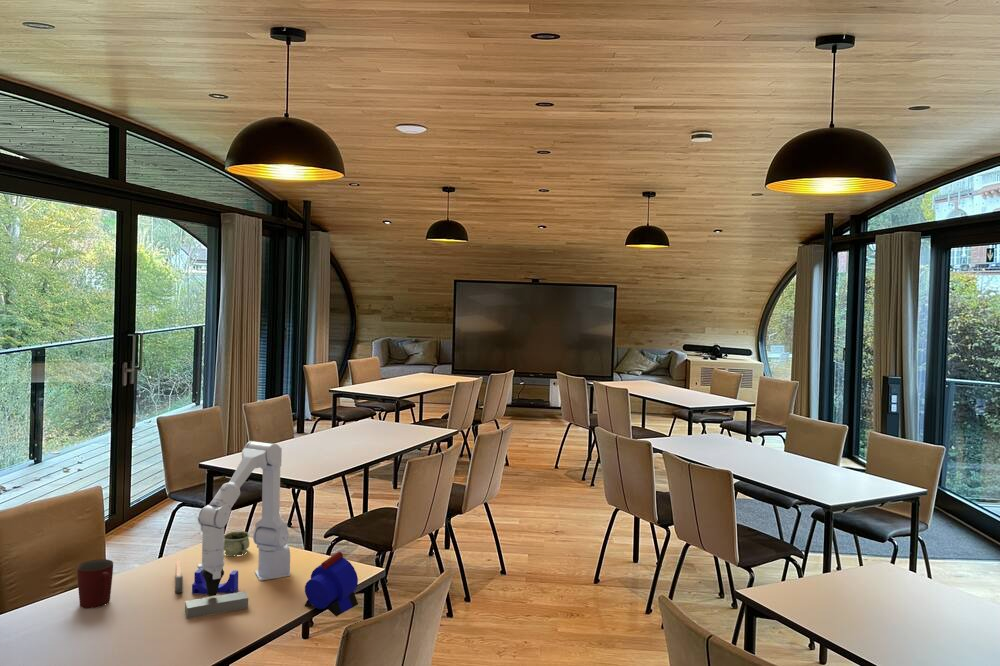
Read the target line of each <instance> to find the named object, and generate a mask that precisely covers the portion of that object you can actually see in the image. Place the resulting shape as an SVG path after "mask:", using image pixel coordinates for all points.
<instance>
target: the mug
mask: <svg viewBox="0 0 1000 666" xmlns="http://www.w3.org/2000/svg"><path fill="white" fill-rule="evenodd" d="M76 568H77V570H76V571H77V572H76V573H77V587H78V588H77V589H78V598H79V606H80V608H83V609H96V608H97V609H98V608H101V607H104V606H106V605H108V604H109V603H110V602H109V601H110V600H111V593H112V584H113V576H114V575H113V573H114V561H112V560H111V559H105V558H102V559H101V558H99V559H91V560H88V561H87V560H86V561H84V562H81V563H80V564H78V565H77V567H76ZM107 603H108V604H107ZM105 604H106V605H105Z"/></svg>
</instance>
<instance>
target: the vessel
mask: <svg viewBox="0 0 1000 666" xmlns="http://www.w3.org/2000/svg"><path fill="white" fill-rule="evenodd" d="M250 536H251V535H250V532H248V531H243V530H242V531H241V530H240V531H237V530H236V531H231V532H227V533H224V554H226V555H228V556H234V555H235V556H237V555H242V554H243V556H245V555H246V554H245V553H246V552H247V551H248V550H247V549H249V547H250V539H249V537H250ZM244 554H245V555H244ZM228 556H227V557H228Z"/></svg>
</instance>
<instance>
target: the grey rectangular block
mask: <svg viewBox="0 0 1000 666" xmlns="http://www.w3.org/2000/svg"><path fill="white" fill-rule="evenodd" d="M244 609H249V596H248V595H247V592H246V591H245V590H244V591H238V592H237V591H236V592H235V593H224V594H221V595H215V596H208V597H203V598H196V599H191V600H190V599H189V600H185V601H184V613H185V616H186V620H188V619H190V620H191V619H195V618H200V617H206V616H211V615H218V614H222V613H228V612H235V611H240V610H244Z"/></svg>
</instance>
